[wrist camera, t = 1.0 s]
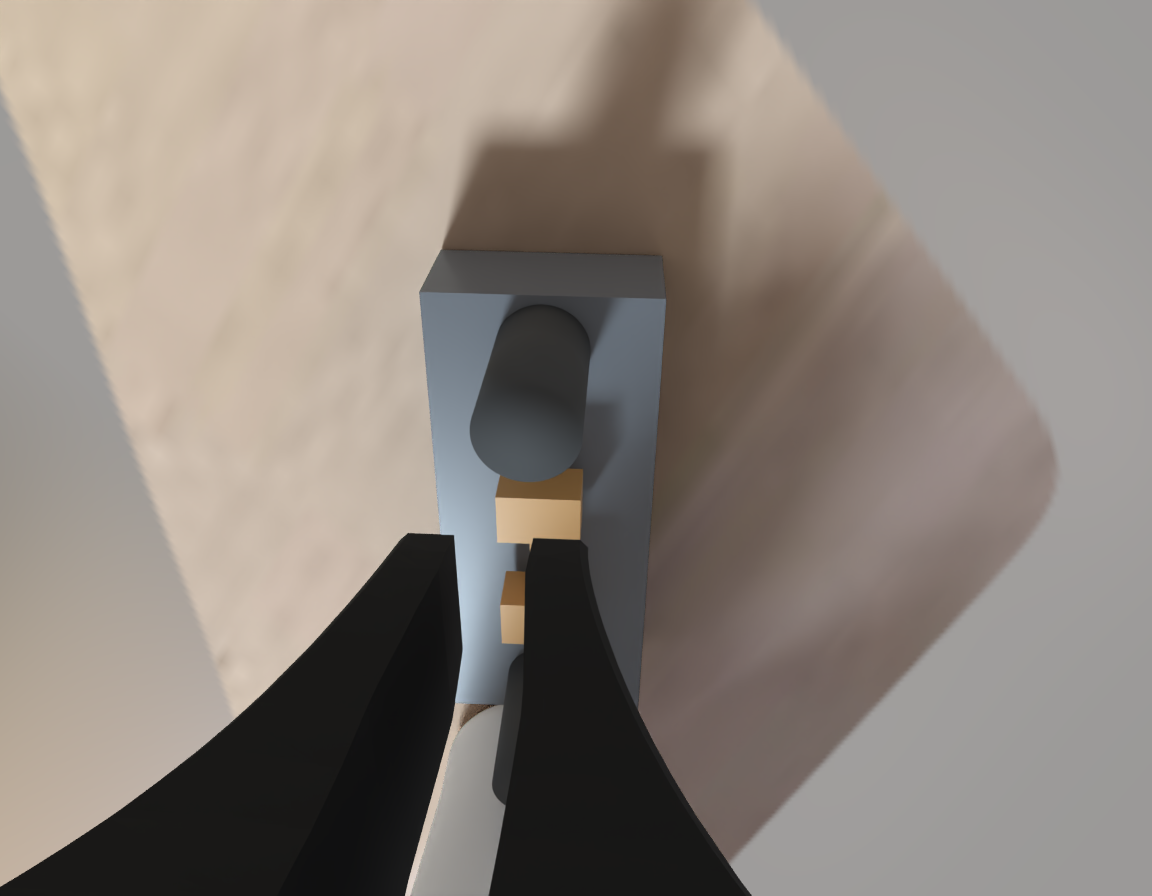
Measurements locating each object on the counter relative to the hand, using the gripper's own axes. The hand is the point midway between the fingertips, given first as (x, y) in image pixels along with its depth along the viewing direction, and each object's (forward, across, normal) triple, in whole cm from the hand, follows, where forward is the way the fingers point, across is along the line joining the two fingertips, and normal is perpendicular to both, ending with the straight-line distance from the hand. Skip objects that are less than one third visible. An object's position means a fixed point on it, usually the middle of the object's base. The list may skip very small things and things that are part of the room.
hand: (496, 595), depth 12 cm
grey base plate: (+10, 0, +5) cm, 12 cm away
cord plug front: (+8, 0, 0) cm, 8 cm away
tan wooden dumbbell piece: (+8, 0, +5) cm, 9 cm away
